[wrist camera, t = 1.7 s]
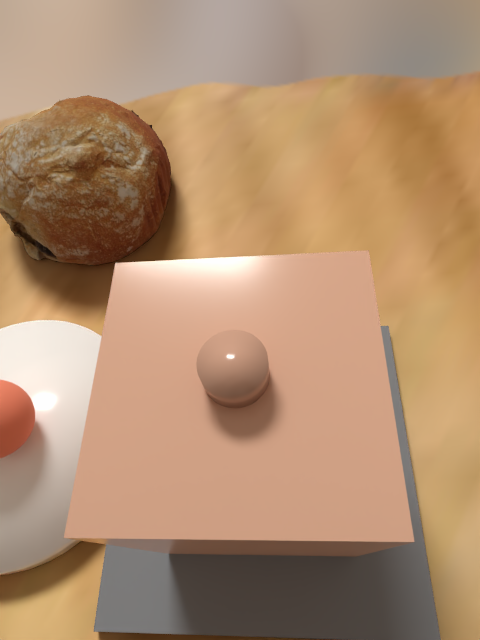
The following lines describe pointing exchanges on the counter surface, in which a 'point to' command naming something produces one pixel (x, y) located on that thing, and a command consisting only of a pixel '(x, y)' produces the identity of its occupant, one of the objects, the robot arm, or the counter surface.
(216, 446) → the pink knobbed box
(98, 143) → the bread roll
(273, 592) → the mat
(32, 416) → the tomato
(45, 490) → the plate
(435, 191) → the counter surface
